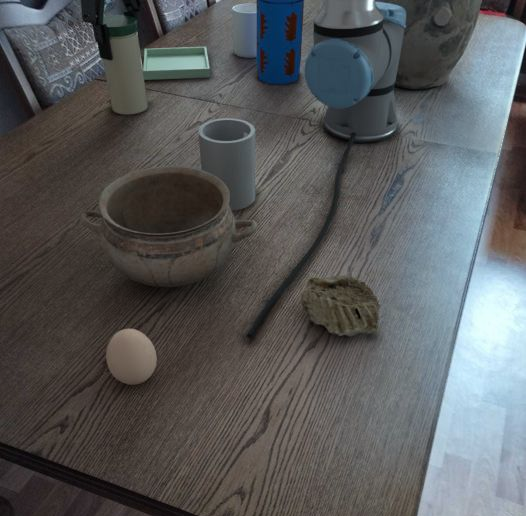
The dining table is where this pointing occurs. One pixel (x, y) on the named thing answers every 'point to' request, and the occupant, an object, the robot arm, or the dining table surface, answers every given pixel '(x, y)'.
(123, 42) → the jar
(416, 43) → the clay pot
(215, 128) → the cup
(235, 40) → the mug
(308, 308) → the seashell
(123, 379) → the egg
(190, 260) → the cooking pot
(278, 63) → the thermos
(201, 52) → the tray
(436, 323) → the dining table surface
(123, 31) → the lid
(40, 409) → the dining table surface
